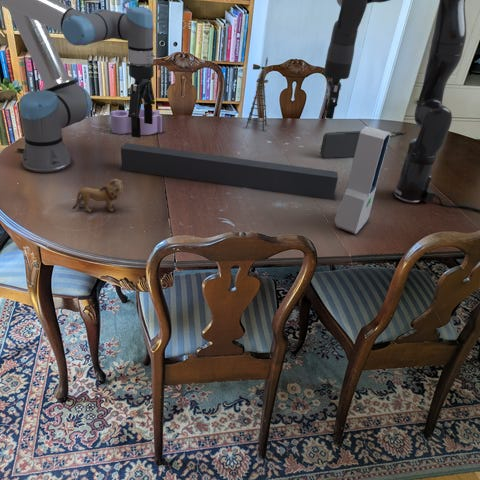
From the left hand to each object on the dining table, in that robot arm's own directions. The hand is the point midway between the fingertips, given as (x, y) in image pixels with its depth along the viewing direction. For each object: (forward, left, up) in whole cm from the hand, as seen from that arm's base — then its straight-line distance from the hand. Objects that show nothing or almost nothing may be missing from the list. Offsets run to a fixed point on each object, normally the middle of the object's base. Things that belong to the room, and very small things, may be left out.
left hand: (142, 130), depth 155 cm
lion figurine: (-4, -30, -14) cm, 33 cm away
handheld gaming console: (+73, +38, -14) cm, 84 cm away
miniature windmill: (+34, +60, -14) cm, 71 cm away
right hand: (+59, 0, +13) cm, 61 cm away
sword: (+93, +67, -14) cm, 116 cm away
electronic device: (+71, -18, -14) cm, 75 cm away
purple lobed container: (-14, +36, -14) cm, 41 cm away
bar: (+30, 0, -14) cm, 33 cm away
